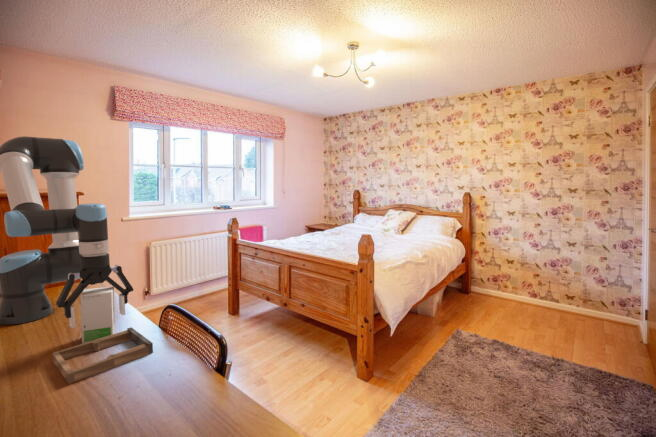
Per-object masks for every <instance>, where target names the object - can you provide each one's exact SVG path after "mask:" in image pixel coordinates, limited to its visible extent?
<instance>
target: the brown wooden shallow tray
mask: <svg viewBox="0 0 656 437" xmlns="http://www.w3.org/2000/svg"><path fill="white" fill-rule="evenodd" d="M128 341H132V343H134V344H135V345H136V346H134V347H130V348H129V349H126V350H122V351H120V352H119V351H118V352H117V353H115V354H114V353H113V354H109V355H108V356H107V357H106V358H105V359H102V360H99V361H96V362H93V363H90V364H88V365H85V366H82V367H79V368H76V369H72V368H71V367H70V365H69V364H68V363H67V361H66V360H68V359H70V358H75V357H77V356H80V355H83V354H86V353H89V352H100V350H101V351H102V349H106V348H109V347H112V346H116V345H118V344H122V343H124V342H128ZM153 347H154V346H153V342H152V341H151V340H149V339H148V338H146V337H145V336H144V335H142V334H141V333H140V332H139V331H137V330H136V329H134V328H133V327H132V326H131V327H127V328H126V330H123V331H120V332H115V333H114V334H113V335H109V336H106V337H103V338H100V339H96V340H93V341H90V342H86V343H83V344H82V343H80V344H77V345H75V346H74V345H73V346H70V347H67V348H64V349H61V350H60V349H59V350H58V351H57V350H56V351H54V352H52V354H51V355H52V362H53V364H54V365H55V366H56V368H57V370H58V371H59V372H60V374H61V375H62V377H63V378H64V380H65V381H66V382H67V383H68V385H69V384H70V385H71V384H73V383H75V382H78V381H81V380H83V379H86V378H89V377H91V376H94V375H96V374H99V373H103V372H105V371H107V370H111V369H113V368H115V367H119V366H121V365H124V364H127V363H128V362H133V361H135V360H137V359H140V358H142V357H145V356H147V355H150V354H153V353H154V348H153Z"/></svg>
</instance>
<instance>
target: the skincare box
mask: <svg viewBox="0 0 656 437" xmlns="http://www.w3.org/2000/svg"><path fill="white" fill-rule="evenodd" d="M114 289H115V287H113V286H108V287H95V288H85V289H84V290H83V292H82V293H81V294H80V316H81V317H80V320H81V322H80V323H81V342H82V343H81V344H83V343H86V342H90V341H93V340H96V339H100V338H103V337H106V336H109V335H113V334H115V333H116V332H115V330H116V326H115V324H116V323H115V322H116V320H115V290H114Z"/></svg>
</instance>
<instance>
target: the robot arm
mask: <svg viewBox="0 0 656 437" xmlns="http://www.w3.org/2000/svg"><path fill="white" fill-rule="evenodd" d="M84 167H85V164H84V156H83V152H82V149H81V147H80V145H79V144H78V143H77V142H76V141H74V140H69V139H64V138H50V137H38V136H37V137H36V136H34V137H33V136H26V135H24V136H17V137H13V138H11V139H8V140H7V141H4V142H3V143H2V144H1V145H0V173H1V176H2V180H3V184H4V188H5V192H6V195H7V196H6V197H7V199H8V204H9V207H10V211H6V212H4V216H3V220H4V227H5V228H4V229H5V233H6V235H7V236H8V237H11V238H15V237H16V238H17V237H19V238H20V237H21V238H22V237H24V238H25V237H27V238H28V237H34V236H43V235H44V236H45V235H51V237H52V240H51V241H52V243H51V244H50V245H49V246H48V247H47V250H48V252H43V251H42V250H41V249H28V250H27V249H26V250H21V251H16V252H12V253H9V254H6V255H4V256H2V257H1V258H0V325H5V326H6V325H7V326H9V325H11V326H12V325H21V324H26V323H29V322H33V321H36V320H40V319H43V318H45V317H47V316H49V315H51V314H52V313H53V304H52V303H51V301H50V298H49V297H48V295H47V294H46V292H45V285H52V284H56V283H61V282H65V284H64V286H63V287H62V290H61V292H60V294H59V295H58V298H57V300H56V301H55V302H56V303H55V305H56V307H58V308H60V309H61V308H63V309H64V317H65V318H66V319H68V320H69V327H70V328H71V330H75V329H76V327H77V326H76V317H75V316H76V315H75V307H74V306H73V305H74V303H75V302H76V300H77V299H78V298H79V297H80V296H81V294H82V292H83V290H84V289H87V287H88V286H89V285H91V286H94V285H98V284H104V282H107V283H108V284H110V285H111V287H114V289H116V290H117V291H119V292H120V293H119V294H118V308H119V314H120V315H122V316H125V315H126V304H128V295H129V293H131V292H133V291H134V288H133V286H132V284H131V283H130V281H129V280H128V279H127V277H126V276H125V274H124V273H123V268H122V266H121V265H119V264H115V265H114V266H110V263H111V262H110V254H109V253H108V252H109V251H110V249H109V248H110V247H109V246H110V245H109V236H108V235H109V234H108V229H109V228H108V212H107V207H106V206H107V205H105V204H103V203H79V204H78V197H77V189H76V188H77V187H76V178H77V177H79V176H80V171H83V170H84V169H85V168H84ZM33 170H39V173H40V176H41V177H42V178H44V179H45V181H46V189H47V197H48V198H47V199H48V208H49V209H45V206H44V204H43V200H42V198H41V195H40V192H39V188H38V185H37V183H36V179H35V177H34V173H33ZM112 272H113V273H114V274H116V275H117V278H119V280H120V281H121V283H122V284H123V286H124V288H123V287H122V286H121V285H119V283H118V282H116V281H115V280H114V279H112V277H110V274H111V273H112ZM78 279H79V280H80V279H81V280H80V282H78V285H77V286H76V287H75V289H74V290H73V291H72V292H71V290H72V288H73V286H74V284H75V281H77V280H78ZM70 292H71V294H70Z"/></svg>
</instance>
